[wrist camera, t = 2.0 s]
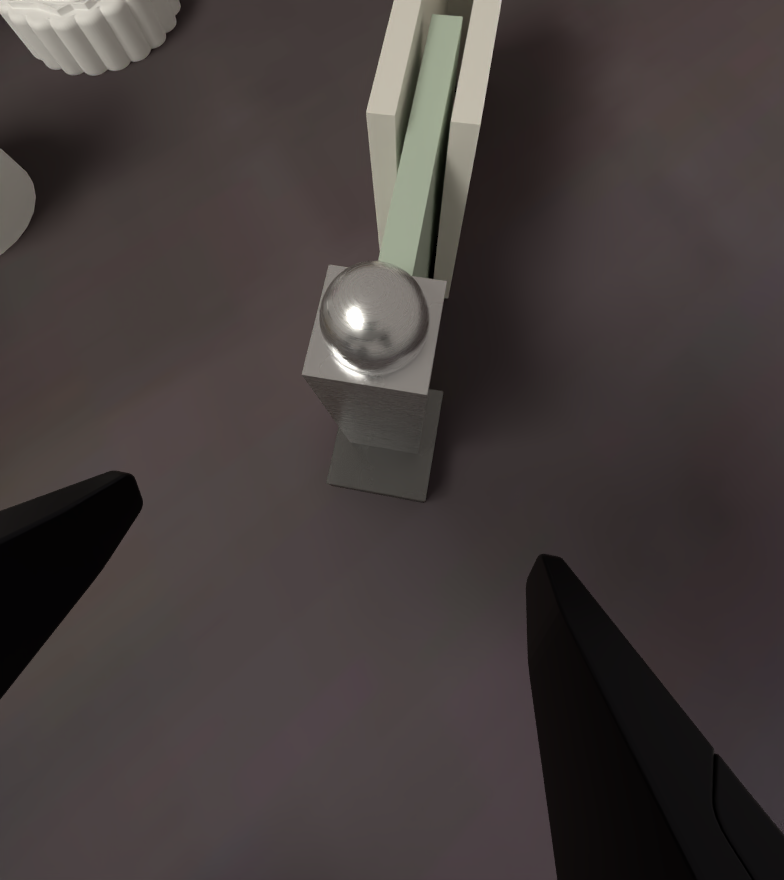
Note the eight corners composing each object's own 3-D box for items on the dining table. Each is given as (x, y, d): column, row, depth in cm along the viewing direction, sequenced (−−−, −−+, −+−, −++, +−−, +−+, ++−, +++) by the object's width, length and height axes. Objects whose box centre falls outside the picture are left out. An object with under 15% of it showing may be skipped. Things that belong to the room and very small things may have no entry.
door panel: (410, 388, 21) (412, 291, 12) (385, 384, 21) (369, 284, 12) (443, 207, 23) (465, 16, 15) (421, 204, 23) (429, 13, 15)
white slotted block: (448, 298, 22) (480, 125, 13) (383, 289, 23) (366, 112, 13) (485, 78, 26) (534, -193, 16) (429, 73, 26) (443, -197, 16)
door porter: (423, 502, 20) (449, 473, 8) (332, 485, 20) (222, 433, 8) (441, 400, 21) (485, 238, 9) (353, 386, 21) (285, 212, 9)
